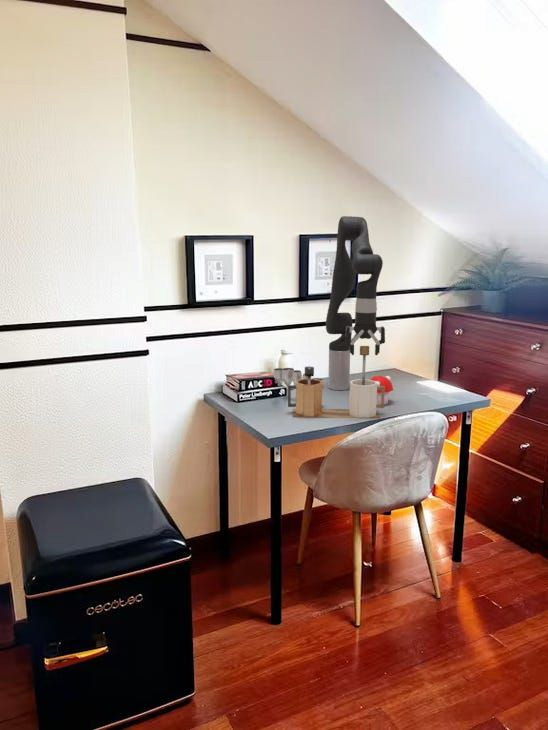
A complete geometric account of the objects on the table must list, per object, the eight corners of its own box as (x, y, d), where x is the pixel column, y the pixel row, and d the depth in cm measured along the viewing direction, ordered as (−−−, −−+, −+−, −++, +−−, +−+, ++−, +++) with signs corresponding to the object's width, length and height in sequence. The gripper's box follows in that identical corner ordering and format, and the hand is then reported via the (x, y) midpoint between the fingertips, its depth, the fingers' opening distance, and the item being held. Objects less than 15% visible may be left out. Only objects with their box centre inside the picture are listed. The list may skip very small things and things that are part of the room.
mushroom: (366, 408, 240) (367, 379, 238) (363, 401, 251) (364, 372, 248) (394, 409, 240) (395, 379, 237) (389, 401, 251) (390, 372, 248)
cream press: (348, 409, 235) (349, 379, 232) (381, 410, 234) (382, 379, 232) (350, 417, 225) (351, 385, 223) (385, 417, 225) (386, 386, 222)
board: (292, 411, 236) (292, 408, 236) (376, 412, 235) (376, 409, 235) (292, 420, 226) (292, 417, 225) (380, 421, 225) (380, 418, 224)
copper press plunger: (299, 407, 234) (300, 365, 230) (317, 407, 233) (318, 365, 230) (299, 412, 227) (300, 369, 224) (317, 412, 227) (318, 369, 223)
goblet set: (270, 397, 257) (270, 366, 254) (280, 394, 260) (280, 364, 257) (315, 412, 236) (316, 379, 233) (326, 409, 239) (327, 376, 236)
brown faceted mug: (288, 409, 236) (288, 378, 233) (321, 409, 235) (321, 378, 232) (287, 416, 226) (287, 385, 224) (322, 417, 226) (322, 385, 223)
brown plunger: (353, 387, 231) (354, 344, 228) (371, 387, 231) (372, 344, 227) (355, 392, 225) (356, 348, 221) (373, 392, 225) (374, 348, 221)
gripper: (384, 309, 225) (382, 353, 228) (345, 309, 225) (344, 352, 229) (387, 312, 218) (385, 357, 221) (346, 311, 218) (345, 356, 222)
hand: (364, 354), depth 225 cm, fingers open, 8 cm apart
